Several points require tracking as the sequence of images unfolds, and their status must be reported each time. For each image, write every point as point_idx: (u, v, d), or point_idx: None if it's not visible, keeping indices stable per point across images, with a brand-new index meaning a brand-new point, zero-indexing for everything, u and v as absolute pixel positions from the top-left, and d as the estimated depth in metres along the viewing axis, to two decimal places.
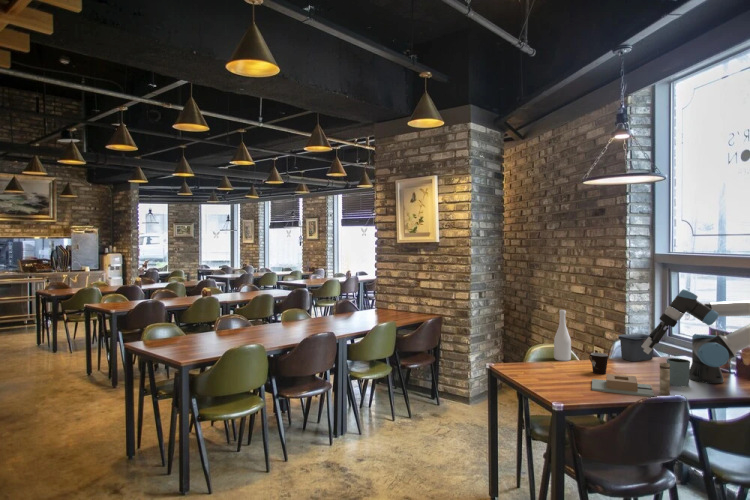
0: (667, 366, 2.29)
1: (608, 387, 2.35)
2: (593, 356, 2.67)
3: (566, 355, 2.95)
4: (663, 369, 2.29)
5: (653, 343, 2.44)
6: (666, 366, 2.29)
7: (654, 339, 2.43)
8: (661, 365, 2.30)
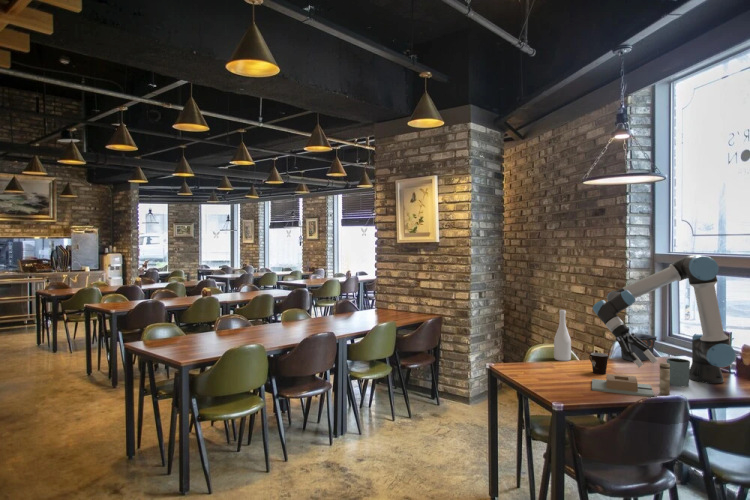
0: (667, 366, 2.29)
1: (608, 387, 2.35)
2: (593, 356, 2.67)
3: (566, 355, 2.95)
4: (663, 369, 2.29)
5: (630, 355, 2.35)
6: (666, 366, 2.29)
7: (624, 353, 2.35)
8: (661, 365, 2.30)
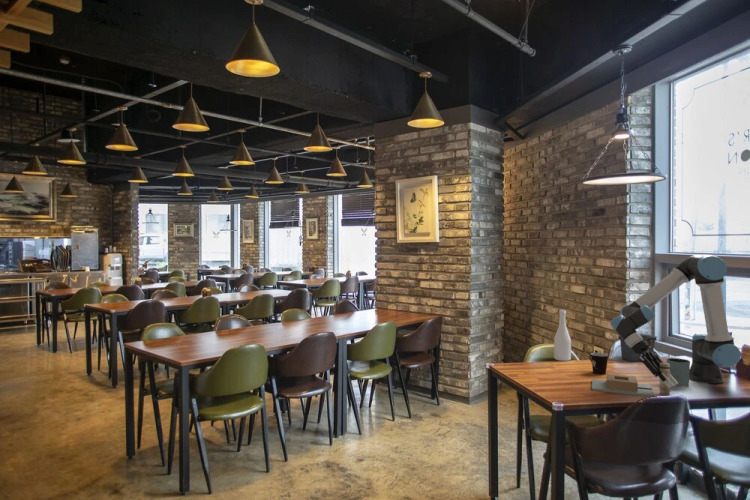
0: (667, 366, 2.29)
1: (608, 387, 2.35)
2: (593, 356, 2.67)
3: (566, 355, 2.95)
4: (663, 369, 2.29)
5: (659, 375, 2.29)
6: (666, 366, 2.29)
7: (653, 374, 2.29)
8: (661, 365, 2.30)
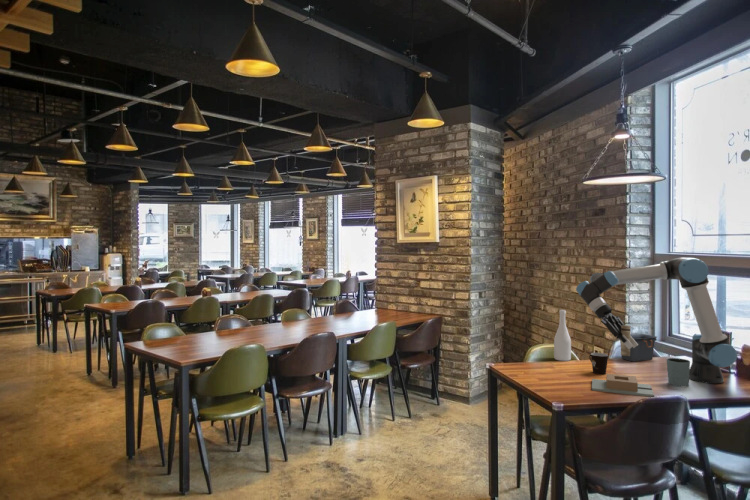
0: (628, 328, 2.36)
1: (608, 387, 2.35)
2: (593, 356, 2.67)
3: (566, 355, 2.95)
4: (624, 331, 2.36)
5: (620, 337, 2.36)
6: (627, 328, 2.36)
7: None
8: (622, 327, 2.37)
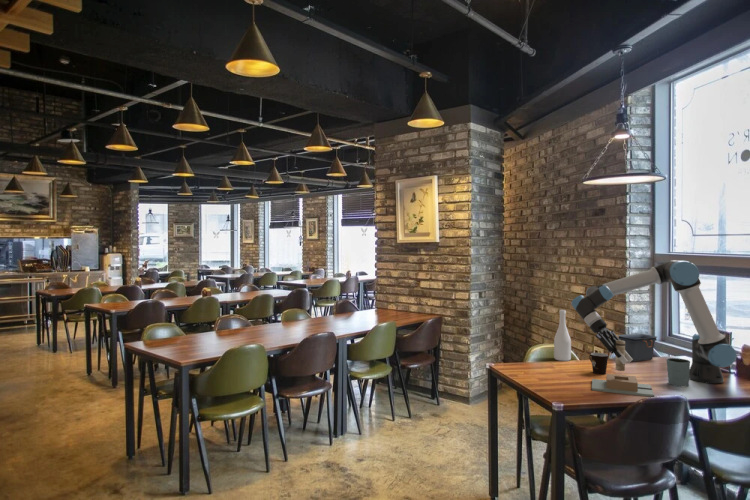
0: (622, 343, 2.37)
1: (608, 387, 2.35)
2: (593, 356, 2.67)
3: (566, 355, 2.95)
4: (618, 346, 2.38)
5: (615, 352, 2.37)
6: (621, 343, 2.37)
7: (609, 351, 2.38)
8: (617, 342, 2.38)
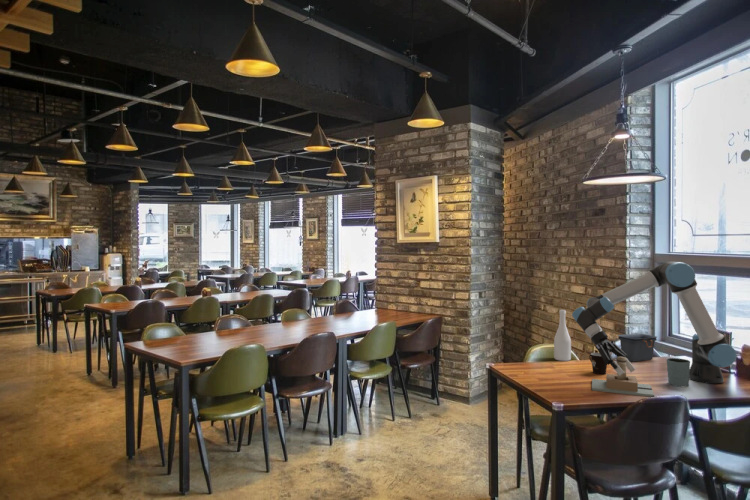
0: (623, 360, 2.37)
1: (608, 387, 2.35)
2: (593, 356, 2.67)
3: (566, 355, 2.95)
4: (620, 363, 2.38)
5: (611, 363, 2.36)
6: (622, 360, 2.37)
7: (605, 362, 2.37)
8: (618, 359, 2.38)
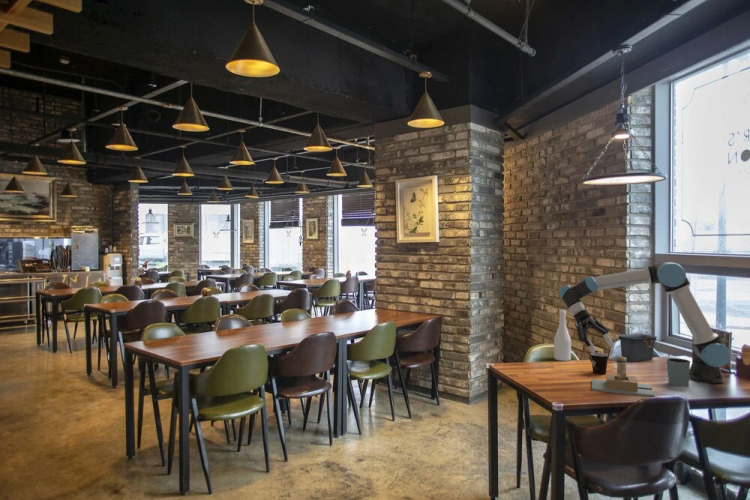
0: (624, 360, 2.37)
1: (608, 387, 2.35)
2: (593, 356, 2.67)
3: (566, 355, 2.95)
4: (620, 363, 2.37)
5: (585, 341, 2.49)
6: (623, 360, 2.37)
7: (579, 339, 2.50)
8: (618, 359, 2.38)
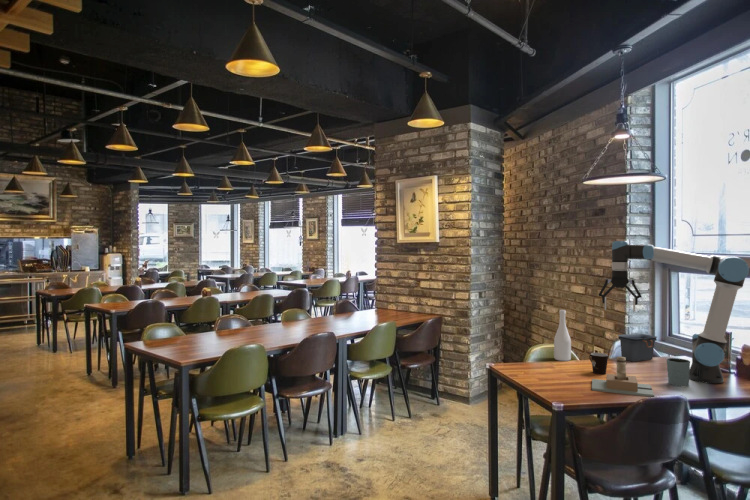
0: (623, 360, 2.37)
1: (608, 387, 2.35)
2: (593, 356, 2.67)
3: (566, 355, 2.95)
4: (619, 363, 2.38)
5: (602, 298, 2.65)
6: (622, 360, 2.37)
7: None
8: (617, 359, 2.38)
